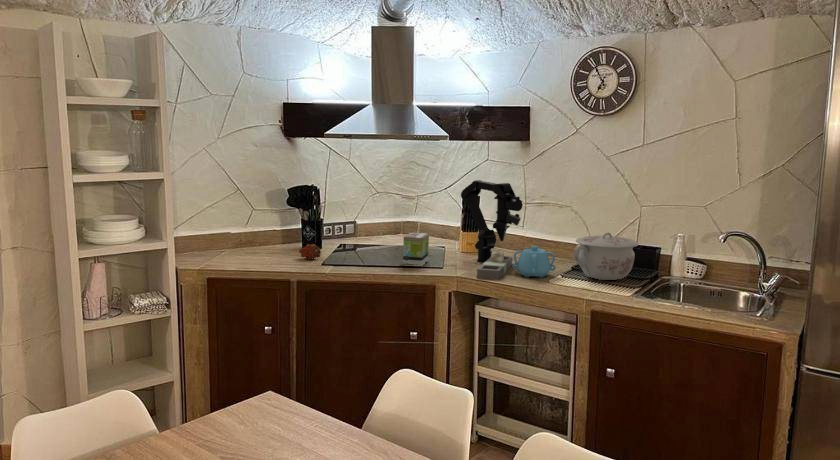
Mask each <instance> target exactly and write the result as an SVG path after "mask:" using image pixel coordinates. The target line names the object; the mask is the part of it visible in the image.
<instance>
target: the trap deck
mask: <svg viewBox="0 0 840 460" xmlns="http://www.w3.org/2000/svg"><path fill="white" fill-rule="evenodd" d="M512 265H513V256H507V255H506V256H505V255H504V260H503V261H502V262H491V257H490V258H489V259H488V260H487V261H486V262H483V263H482V264H481V265H480V266H479V267H478V268H477V269H476V278H477V279H485V280H497V281H498V280H500V279H501V278H502V277H503V276H504V275H505V274H506V273H507V272H508V270H509V269H510V268H511V267H512Z"/></svg>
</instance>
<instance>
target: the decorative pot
mask: <svg viewBox="0 0 840 460" xmlns="http://www.w3.org/2000/svg"><path fill="white" fill-rule="evenodd" d="M517 254H520V256H519V257H518V260H517ZM548 255H551V256H552V260H551V261H550V258H549V256H548ZM513 260H514V263H512V266H511V267H512V269H514V270H518V272H519V274H520V275H522V276H523V277H524V278H529V277H537V278H539V279H542V278H543V279H544V277H546V276H548V275H549V273H550V271H551V272H553V271H555V270H556V266H555V264H554V263H555V260H556V255H555V254H554V253H553V252H552V251H546V250H545V249H543V248H539V246H537V245H531V246H530V248H525V249H523V250H517V251H515V252H514V253H513ZM552 267H553V268H552Z"/></svg>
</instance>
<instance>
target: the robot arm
mask: <svg viewBox="0 0 840 460" xmlns="http://www.w3.org/2000/svg"><path fill="white" fill-rule="evenodd" d="M482 190H485V191H490V192H492V193H493V194H494V195H496V196H495V197H494V200H497V201H496V202H497V203H496V204H497V205H496V212H495V213H496V219H495V222H494V223H493V224H492V229H490V228H489V227H488V224H487V222H486V219H485V217H484V215H483V212H482V209H481V207H480V205H479V200H480V196H479V195H480V194H481V192H482ZM460 198H461V199H462V201H463V203H464V204H465V205H467V207H469V210H470V213H471V216H472V218H473V220H474V222H475V226H476V228H477V231H478V235H477V242H476V243H474V247H475V250H477V260H476V262H483V263H485V262H486V261H487V260H488V259H489V258H490V257H491V253H492V252H493V251H492V250H493V249H495V246H496V243H497V238H496V237H497V236H498V238H499V239H500V240H499V241H500V242H504V240H505V236H506V233H507V229H509V228H510V227H511V225H512V224H514V225H515V226H519V224H520V221H521V220H522V217H520V214H518V213H516V214H511V211H514V212H520V211H521V210H522V208H523V206H524V205H523V201H522V200H521V199H520V196H517V195H516V193H515V191H514V189H513V187H512V185H511V183H509V182H502V183H501V182H500V183H495V182H491V181H486V180H485V181H484V180H482V179H479V180H473V181H472V182H471V183H469V185H467V186H465V188H464V189H462V190H461V192H460ZM494 229H495V230H496V232H497V236H496V233H495V230H494Z"/></svg>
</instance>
